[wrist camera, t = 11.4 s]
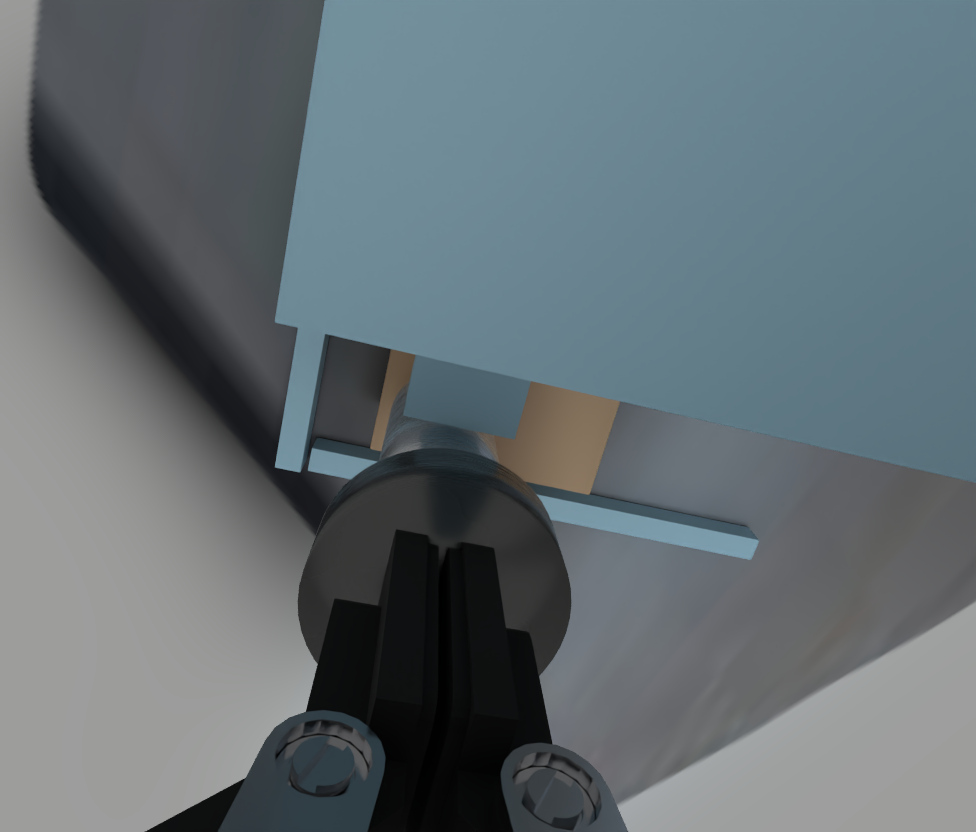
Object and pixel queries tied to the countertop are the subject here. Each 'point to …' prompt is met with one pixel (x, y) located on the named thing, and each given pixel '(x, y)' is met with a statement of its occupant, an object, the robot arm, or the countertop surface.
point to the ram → (438, 529)
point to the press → (646, 223)
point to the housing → (532, 431)
